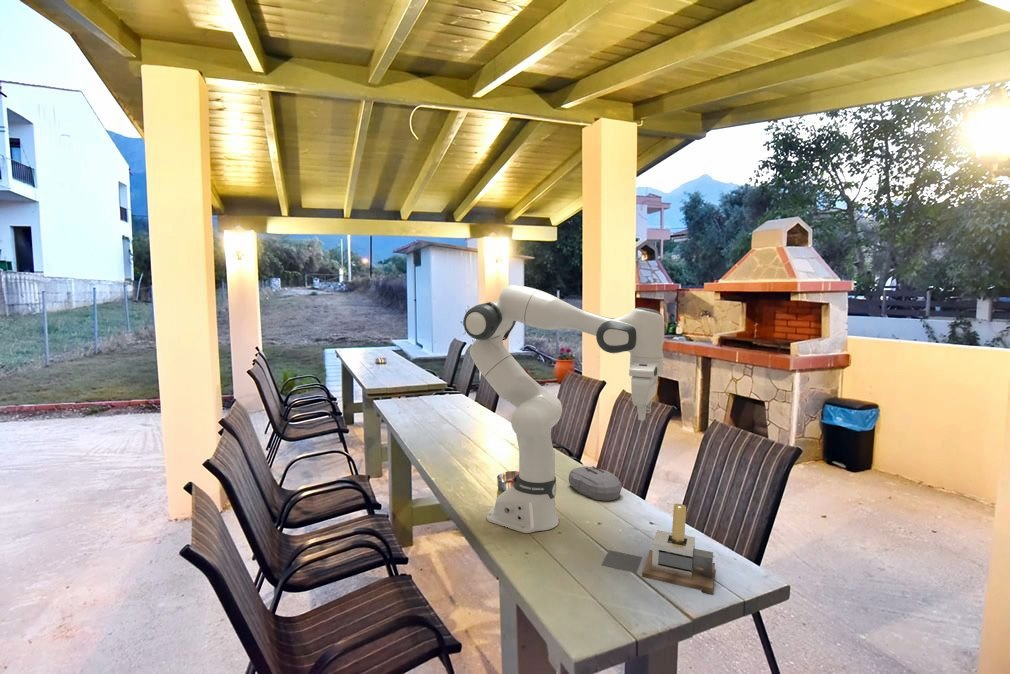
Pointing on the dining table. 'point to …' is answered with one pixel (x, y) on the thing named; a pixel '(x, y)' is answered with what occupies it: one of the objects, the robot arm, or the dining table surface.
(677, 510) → the brass pin
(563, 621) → the dining table surface
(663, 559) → the block
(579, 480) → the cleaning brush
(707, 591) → the walnut base
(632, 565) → the rubber mat
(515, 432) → the robot arm
